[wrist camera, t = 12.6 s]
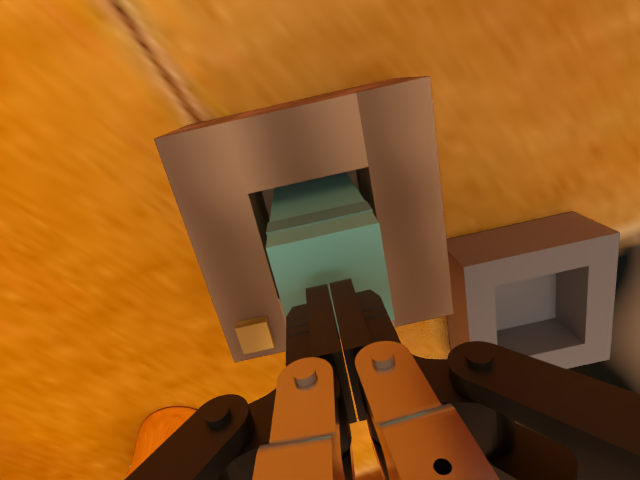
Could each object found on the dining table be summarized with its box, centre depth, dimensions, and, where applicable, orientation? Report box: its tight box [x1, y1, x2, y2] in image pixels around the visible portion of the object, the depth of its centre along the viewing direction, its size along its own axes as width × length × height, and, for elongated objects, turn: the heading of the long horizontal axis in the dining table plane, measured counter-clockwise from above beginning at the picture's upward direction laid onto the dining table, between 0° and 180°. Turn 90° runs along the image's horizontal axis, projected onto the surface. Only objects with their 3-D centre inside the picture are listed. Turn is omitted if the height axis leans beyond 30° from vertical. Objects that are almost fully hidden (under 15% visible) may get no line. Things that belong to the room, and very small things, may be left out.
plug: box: [266, 172, 395, 332], centre depth 19 cm, size 4×4×10 cm
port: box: [154, 76, 453, 362], centre depth 22 cm, size 12×12×7 cm
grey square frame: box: [446, 212, 620, 369], centre depth 26 cm, size 9×9×4 cm
